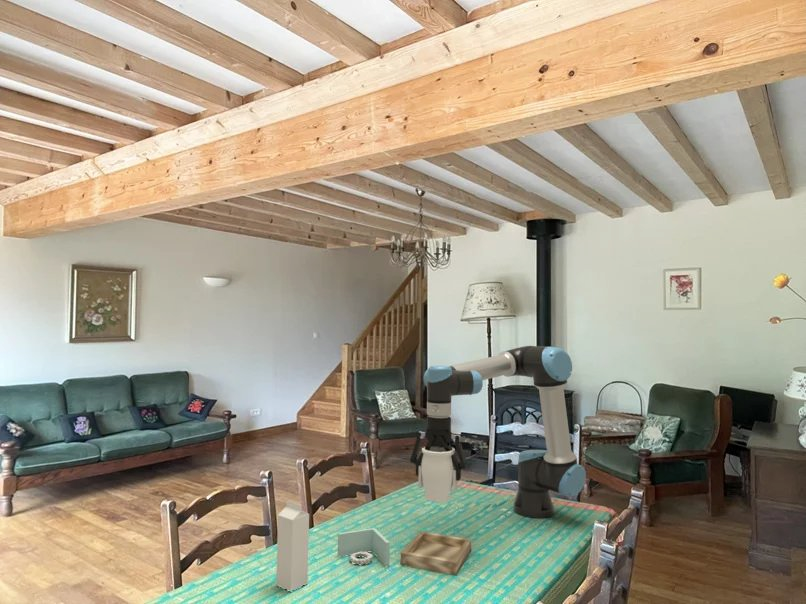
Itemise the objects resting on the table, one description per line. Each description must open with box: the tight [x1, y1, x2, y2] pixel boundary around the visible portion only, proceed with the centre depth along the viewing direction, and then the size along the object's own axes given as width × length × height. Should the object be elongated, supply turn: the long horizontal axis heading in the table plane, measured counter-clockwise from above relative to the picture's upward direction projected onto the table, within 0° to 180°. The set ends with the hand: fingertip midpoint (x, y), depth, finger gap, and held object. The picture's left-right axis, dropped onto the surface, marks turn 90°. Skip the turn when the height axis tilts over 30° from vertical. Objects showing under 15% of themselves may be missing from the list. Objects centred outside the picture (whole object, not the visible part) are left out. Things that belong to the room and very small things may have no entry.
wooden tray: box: [400, 530, 472, 576], centre depth 161 cm, size 17×18×4 cm
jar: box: [421, 445, 456, 503], centre depth 162 cm, size 11×10×15 cm
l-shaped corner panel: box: [337, 527, 390, 567], centre depth 158 cm, size 12×12×8 cm
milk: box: [275, 500, 310, 591], centre depth 143 cm, size 6×6×22 cm
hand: (437, 488), depth 162 cm, fingers closed on jar, 10 cm apart
